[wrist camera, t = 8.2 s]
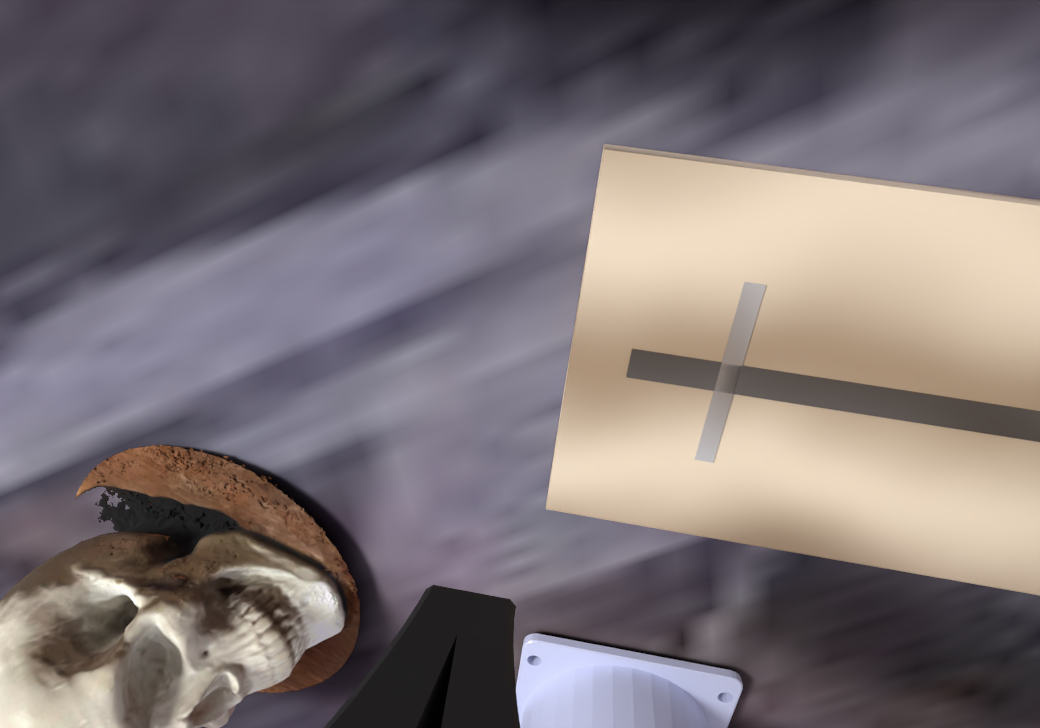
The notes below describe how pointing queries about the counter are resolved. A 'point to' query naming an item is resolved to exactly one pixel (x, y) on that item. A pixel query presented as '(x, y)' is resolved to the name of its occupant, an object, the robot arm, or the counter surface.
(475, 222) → the counter surface
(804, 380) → the slider board
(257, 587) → the skull
